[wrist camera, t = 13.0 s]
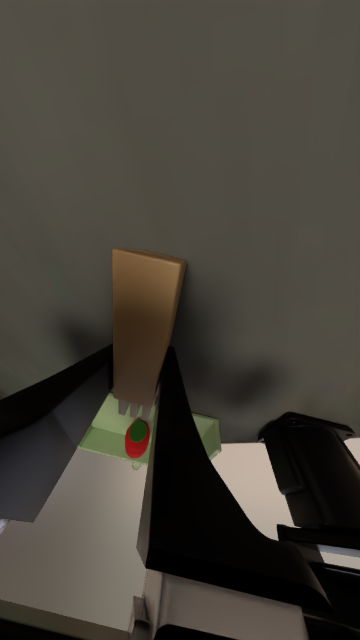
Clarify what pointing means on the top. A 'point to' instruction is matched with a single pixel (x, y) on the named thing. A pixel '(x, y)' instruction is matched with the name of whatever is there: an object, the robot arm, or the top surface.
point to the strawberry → (137, 439)
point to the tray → (119, 423)
